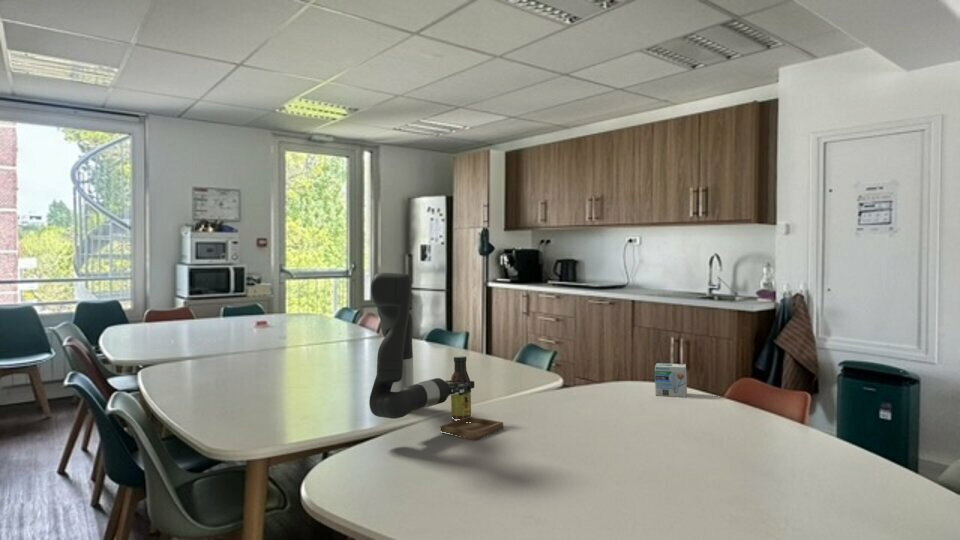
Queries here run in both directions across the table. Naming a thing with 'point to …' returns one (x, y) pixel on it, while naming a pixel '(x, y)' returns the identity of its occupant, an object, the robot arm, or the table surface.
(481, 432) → the walnut tray
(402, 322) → the robot arm
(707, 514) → the table surface
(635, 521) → the table surface
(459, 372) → the sauce bottle
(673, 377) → the light bulb box
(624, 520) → the table surface
